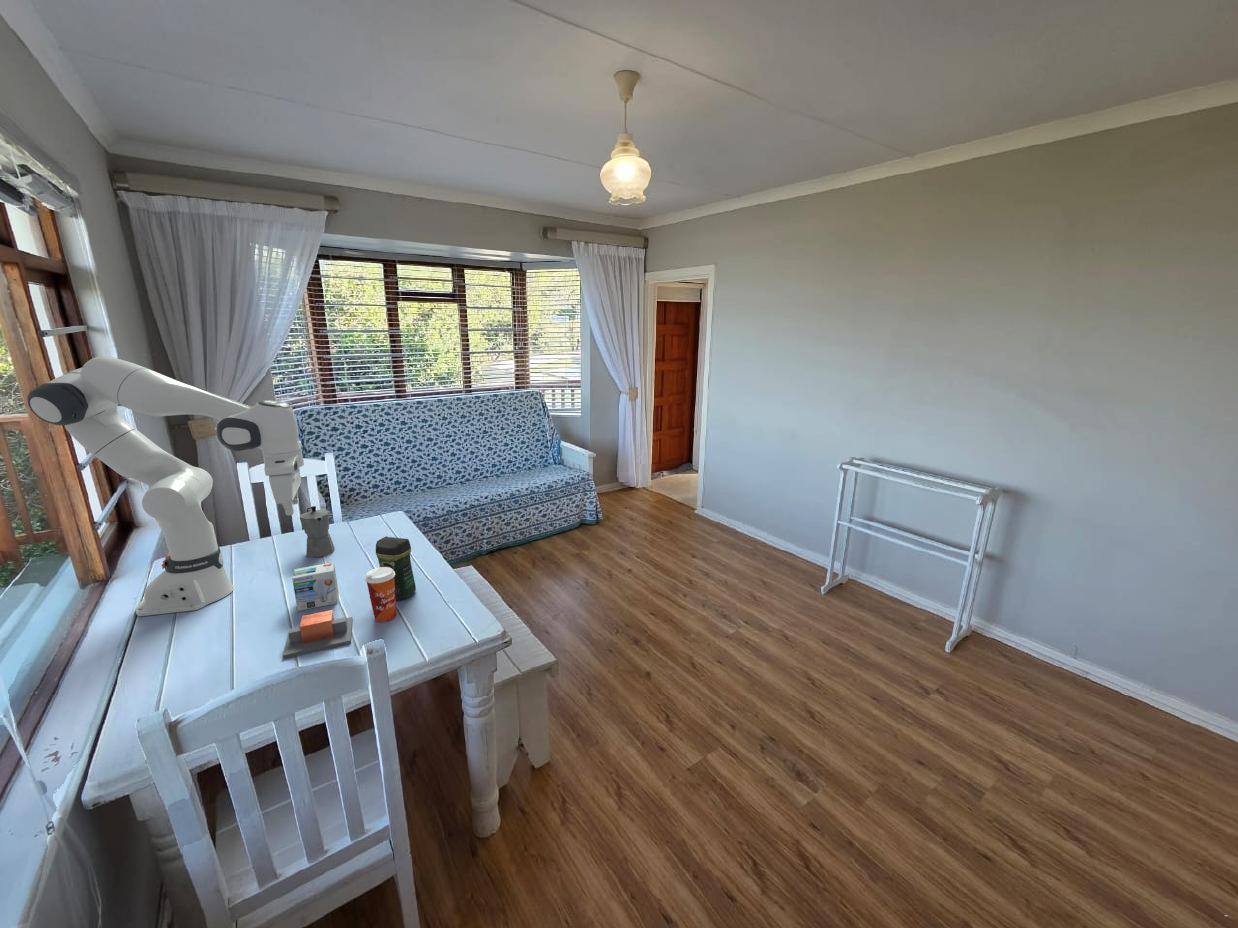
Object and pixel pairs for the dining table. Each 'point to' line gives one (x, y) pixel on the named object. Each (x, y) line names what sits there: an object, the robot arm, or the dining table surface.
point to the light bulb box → (315, 586)
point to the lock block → (317, 626)
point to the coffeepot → (317, 532)
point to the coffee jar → (397, 564)
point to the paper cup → (382, 593)
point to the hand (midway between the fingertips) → (292, 508)
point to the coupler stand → (296, 646)
